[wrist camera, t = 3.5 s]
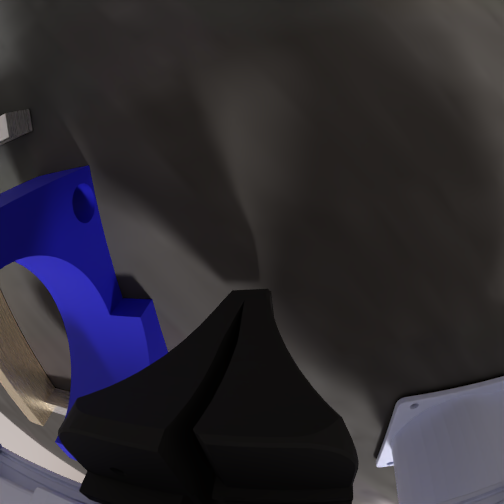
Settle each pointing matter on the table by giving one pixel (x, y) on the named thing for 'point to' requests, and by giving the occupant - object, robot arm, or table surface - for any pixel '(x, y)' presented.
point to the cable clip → (79, 279)
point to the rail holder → (11, 339)
